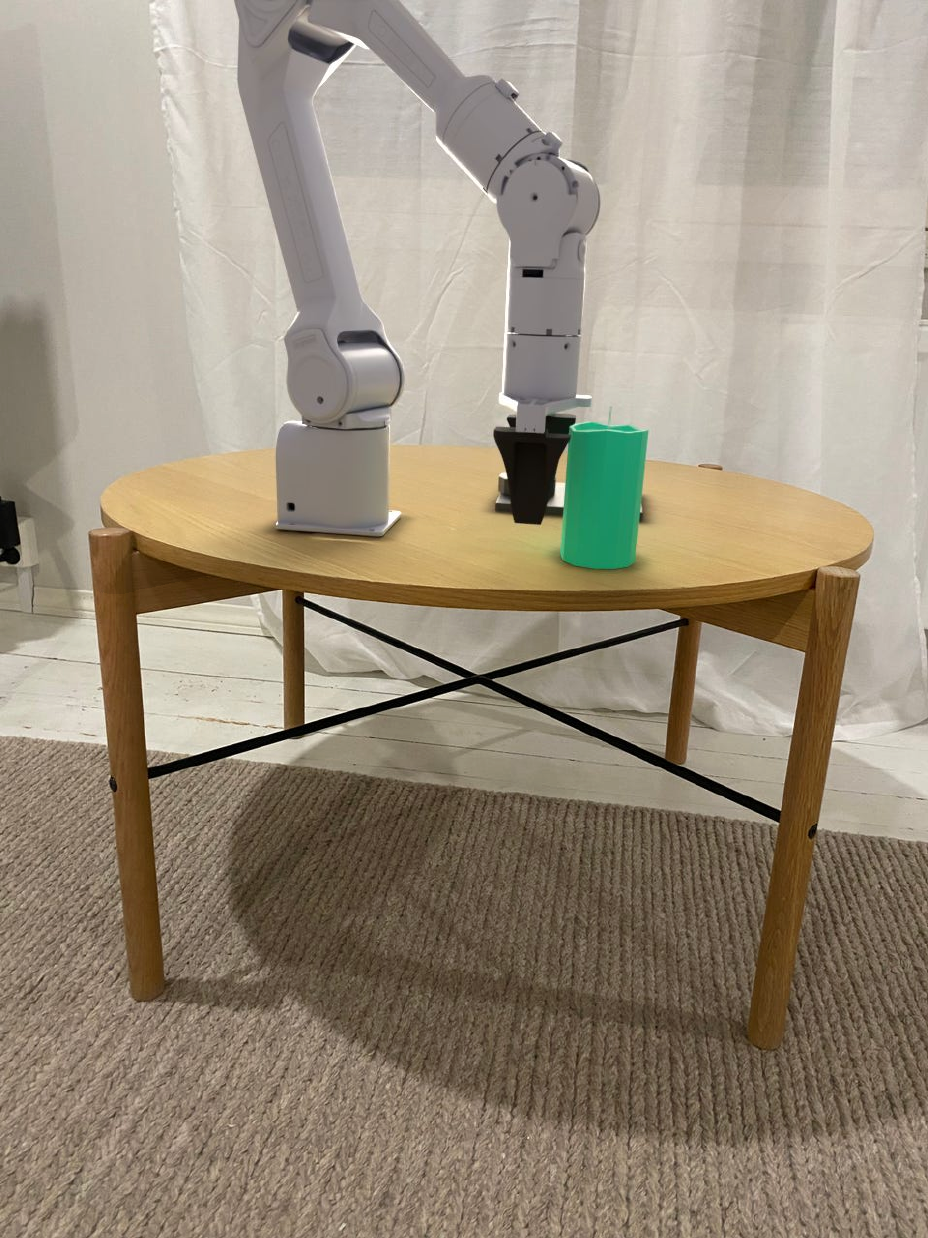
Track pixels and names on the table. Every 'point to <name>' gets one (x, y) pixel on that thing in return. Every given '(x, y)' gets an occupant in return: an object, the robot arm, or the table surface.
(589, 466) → the candle
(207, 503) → the table surface
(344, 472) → the robot arm
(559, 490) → the scale
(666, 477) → the table surface
